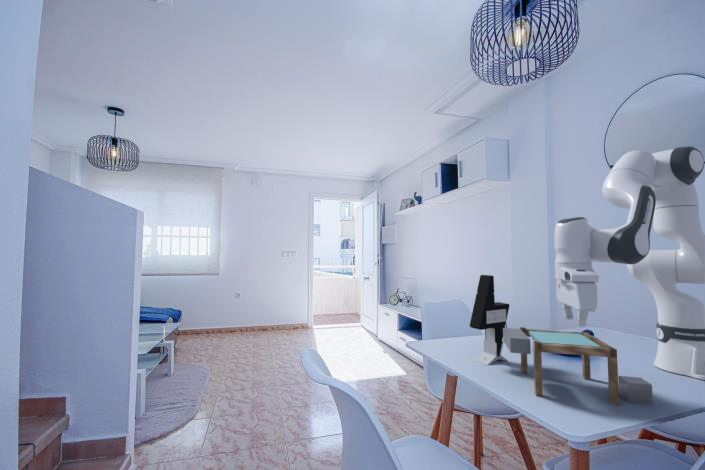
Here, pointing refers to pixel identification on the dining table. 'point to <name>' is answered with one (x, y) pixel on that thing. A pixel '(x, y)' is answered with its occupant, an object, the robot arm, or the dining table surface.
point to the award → (489, 320)
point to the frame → (575, 350)
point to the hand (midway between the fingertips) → (575, 322)
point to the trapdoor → (541, 339)
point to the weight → (635, 390)
